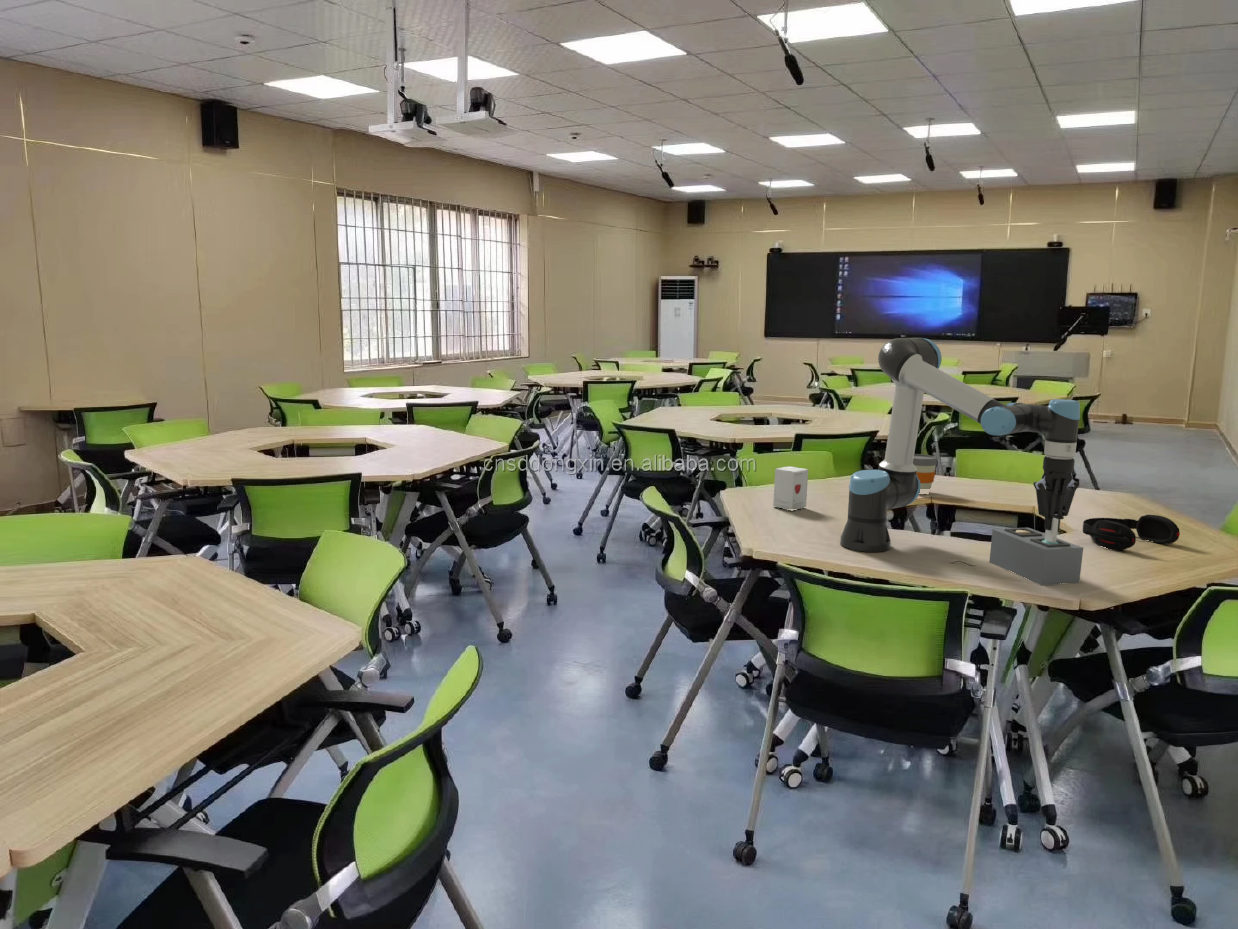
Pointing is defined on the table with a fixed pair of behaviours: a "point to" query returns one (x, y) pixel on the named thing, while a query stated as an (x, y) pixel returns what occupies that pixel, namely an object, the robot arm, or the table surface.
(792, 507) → the supplement box
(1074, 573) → the socket block
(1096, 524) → the headset
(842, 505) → the table surface
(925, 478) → the reusable coffee cup
